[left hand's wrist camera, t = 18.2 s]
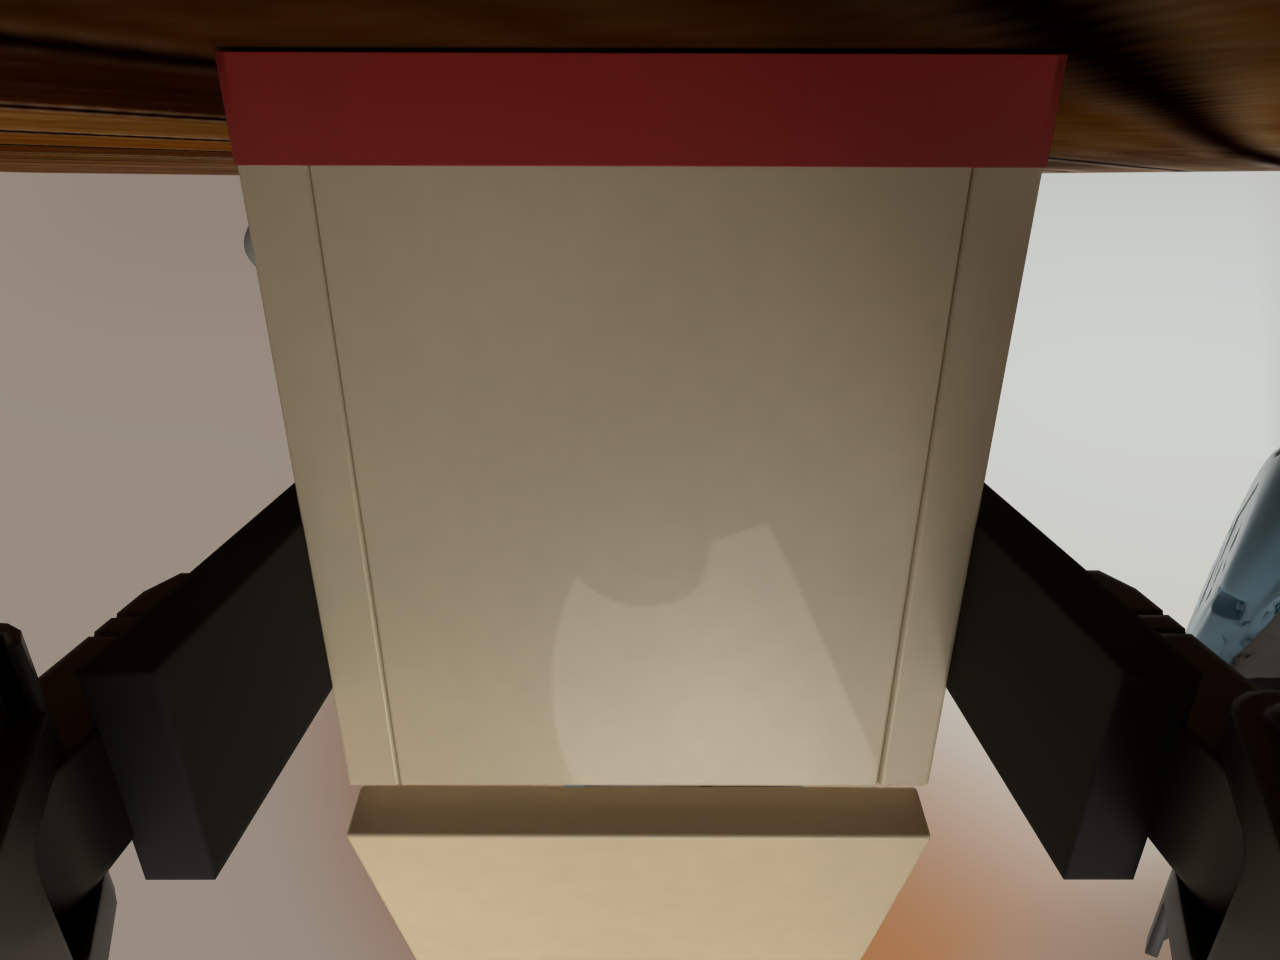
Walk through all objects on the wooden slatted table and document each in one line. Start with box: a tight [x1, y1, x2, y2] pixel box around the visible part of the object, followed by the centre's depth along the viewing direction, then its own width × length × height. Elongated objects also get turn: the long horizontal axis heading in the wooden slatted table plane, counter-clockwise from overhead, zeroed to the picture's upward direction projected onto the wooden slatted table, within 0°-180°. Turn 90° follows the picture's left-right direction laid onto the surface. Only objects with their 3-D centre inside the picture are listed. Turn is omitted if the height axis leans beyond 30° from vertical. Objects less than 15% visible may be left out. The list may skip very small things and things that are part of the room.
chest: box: [214, 51, 1068, 786], centre depth 18 cm, size 17×9×10 cm, turn 0°
